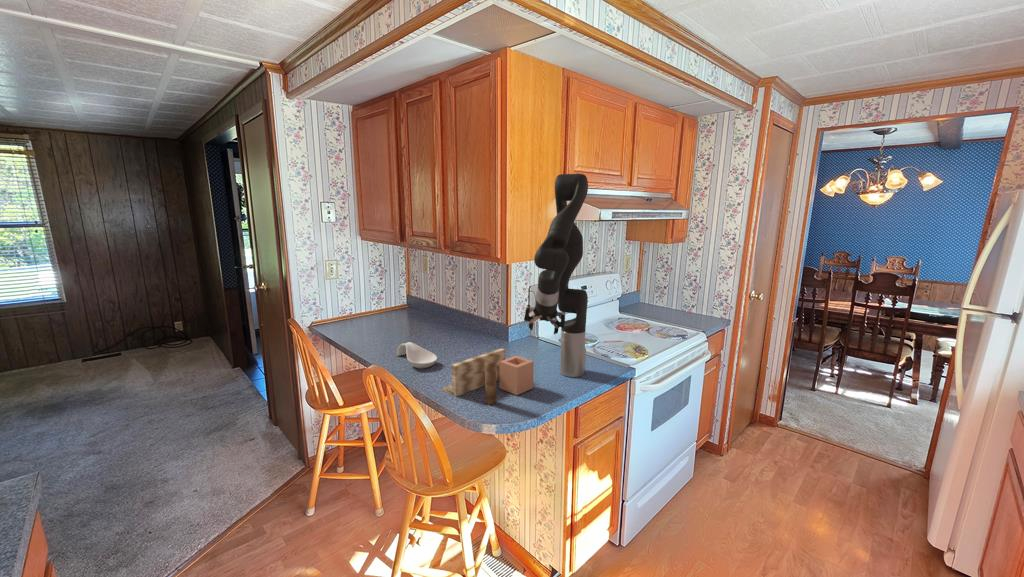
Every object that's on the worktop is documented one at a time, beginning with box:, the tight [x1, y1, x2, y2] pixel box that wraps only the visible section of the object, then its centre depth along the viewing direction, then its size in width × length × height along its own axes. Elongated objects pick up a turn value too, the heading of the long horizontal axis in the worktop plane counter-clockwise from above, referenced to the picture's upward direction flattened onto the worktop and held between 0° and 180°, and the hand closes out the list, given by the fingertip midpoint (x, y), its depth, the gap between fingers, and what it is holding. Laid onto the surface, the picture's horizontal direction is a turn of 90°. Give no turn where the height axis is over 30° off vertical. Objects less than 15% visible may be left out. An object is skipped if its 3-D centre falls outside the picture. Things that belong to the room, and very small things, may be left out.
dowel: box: [484, 361, 497, 406], centre depth 142 cm, size 4×4×14 cm
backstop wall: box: [442, 347, 506, 397], centre depth 157 cm, size 24×7×11 cm, turn 136°
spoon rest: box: [396, 341, 438, 369], centre depth 180 cm, size 24×12×7 cm, turn 44°
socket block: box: [499, 355, 535, 396], centre depth 153 cm, size 8×8×10 cm
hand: (543, 330), depth 157 cm, fingers open, 8 cm apart
